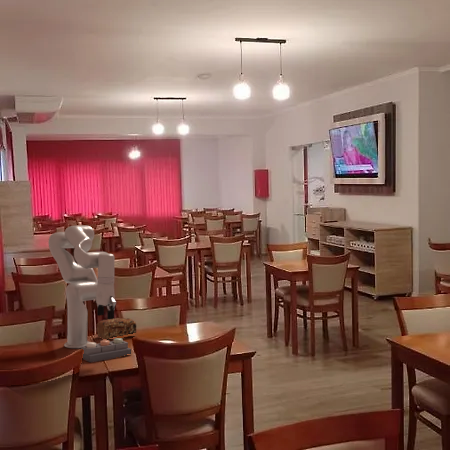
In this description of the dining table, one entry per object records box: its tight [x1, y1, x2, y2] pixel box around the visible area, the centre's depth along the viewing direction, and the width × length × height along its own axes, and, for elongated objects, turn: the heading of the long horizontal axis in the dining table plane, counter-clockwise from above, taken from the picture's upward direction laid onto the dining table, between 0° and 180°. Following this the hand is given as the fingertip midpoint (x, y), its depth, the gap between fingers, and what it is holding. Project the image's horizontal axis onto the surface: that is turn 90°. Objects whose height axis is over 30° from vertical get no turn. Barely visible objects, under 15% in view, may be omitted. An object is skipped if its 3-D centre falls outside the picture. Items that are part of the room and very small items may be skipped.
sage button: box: [113, 338, 124, 344], centre depth 284 cm, size 4×4×3 cm
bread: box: [96, 317, 137, 340], centre depth 319 cm, size 19×11×10 cm, turn 123°
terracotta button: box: [99, 339, 111, 346], centre depth 280 cm, size 4×4×3 cm
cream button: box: [87, 341, 97, 348], centre depth 275 cm, size 4×4×3 cm
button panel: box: [80, 340, 132, 363], centre depth 280 cm, size 12×21×6 cm, turn 130°
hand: (105, 317), depth 279 cm, fingers open, 9 cm apart
